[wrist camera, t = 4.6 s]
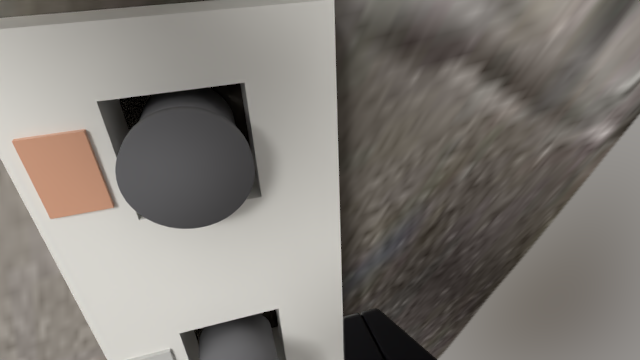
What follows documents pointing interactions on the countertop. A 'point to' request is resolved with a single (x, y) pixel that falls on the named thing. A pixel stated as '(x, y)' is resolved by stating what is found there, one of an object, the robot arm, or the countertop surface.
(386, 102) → the countertop surface
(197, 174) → the near button
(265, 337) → the far button
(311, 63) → the panel
